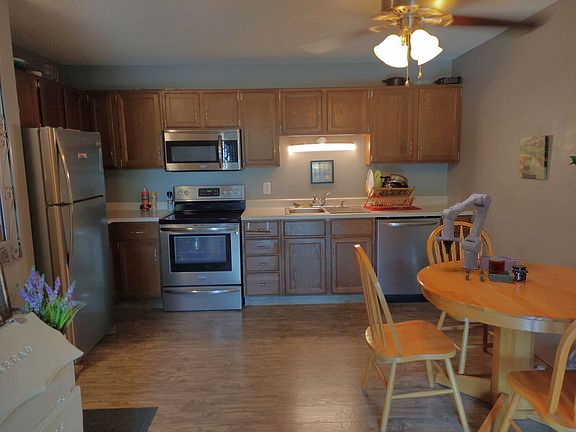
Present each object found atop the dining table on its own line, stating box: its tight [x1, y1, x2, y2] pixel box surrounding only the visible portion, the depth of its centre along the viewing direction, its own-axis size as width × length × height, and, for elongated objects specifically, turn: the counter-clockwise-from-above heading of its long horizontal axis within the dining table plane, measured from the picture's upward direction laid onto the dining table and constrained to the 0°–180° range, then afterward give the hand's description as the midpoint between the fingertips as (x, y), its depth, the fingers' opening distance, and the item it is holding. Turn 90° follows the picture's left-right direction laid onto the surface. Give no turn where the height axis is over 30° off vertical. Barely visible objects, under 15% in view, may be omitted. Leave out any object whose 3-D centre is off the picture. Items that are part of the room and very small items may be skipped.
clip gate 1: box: [465, 267, 471, 281], centre depth 221 cm, size 19×2×2 cm, turn 154°
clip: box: [479, 255, 520, 272], centre depth 232 cm, size 20×12×7 cm, turn 64°
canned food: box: [487, 257, 505, 279], centre depth 214 cm, size 8×8×11 cm
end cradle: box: [488, 270, 514, 284], centre depth 214 cm, size 14×11×4 cm
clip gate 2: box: [479, 268, 485, 282], centre depth 218 cm, size 19×2×2 cm, turn 154°
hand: (447, 253), depth 229 cm, fingers closed
